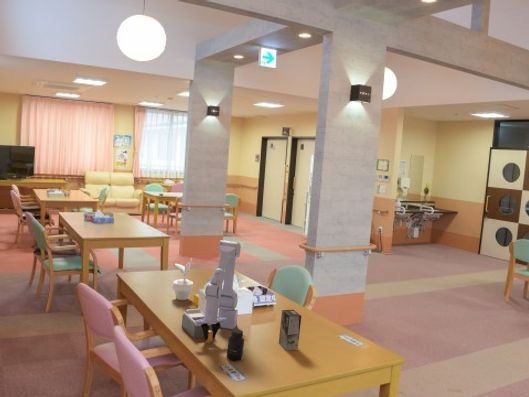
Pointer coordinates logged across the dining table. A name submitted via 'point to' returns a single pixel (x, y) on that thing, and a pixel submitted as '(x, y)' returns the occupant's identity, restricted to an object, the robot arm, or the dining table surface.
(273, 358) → the dining table surface
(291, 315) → the coffee box
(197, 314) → the lid
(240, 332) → the supplement bottle
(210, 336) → the peg
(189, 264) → the potted plant
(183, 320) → the housing
